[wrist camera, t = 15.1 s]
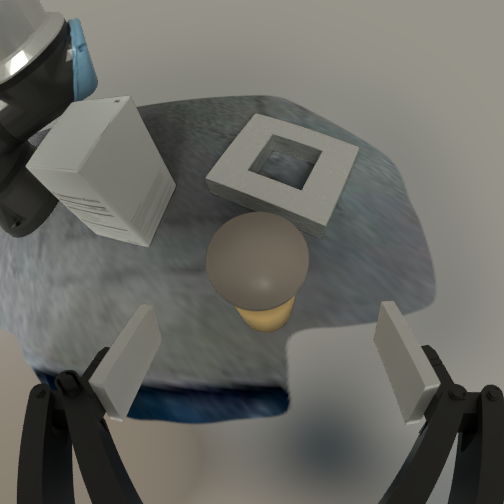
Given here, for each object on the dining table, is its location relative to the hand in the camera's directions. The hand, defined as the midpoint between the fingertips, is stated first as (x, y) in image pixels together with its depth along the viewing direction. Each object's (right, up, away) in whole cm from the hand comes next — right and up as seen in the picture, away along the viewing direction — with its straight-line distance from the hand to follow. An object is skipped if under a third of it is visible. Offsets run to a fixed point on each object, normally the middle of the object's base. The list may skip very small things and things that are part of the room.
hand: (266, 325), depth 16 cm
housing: (+3, +13, +18) cm, 23 cm away
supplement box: (-16, +9, +19) cm, 26 cm away
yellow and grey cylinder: (+1, -1, +12) cm, 12 cm away
